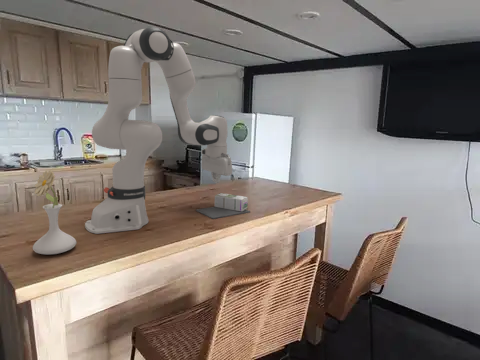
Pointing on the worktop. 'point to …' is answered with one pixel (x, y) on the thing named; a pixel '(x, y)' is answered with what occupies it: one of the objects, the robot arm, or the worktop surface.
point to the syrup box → (231, 202)
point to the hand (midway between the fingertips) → (215, 182)
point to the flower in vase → (51, 221)
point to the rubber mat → (219, 212)
